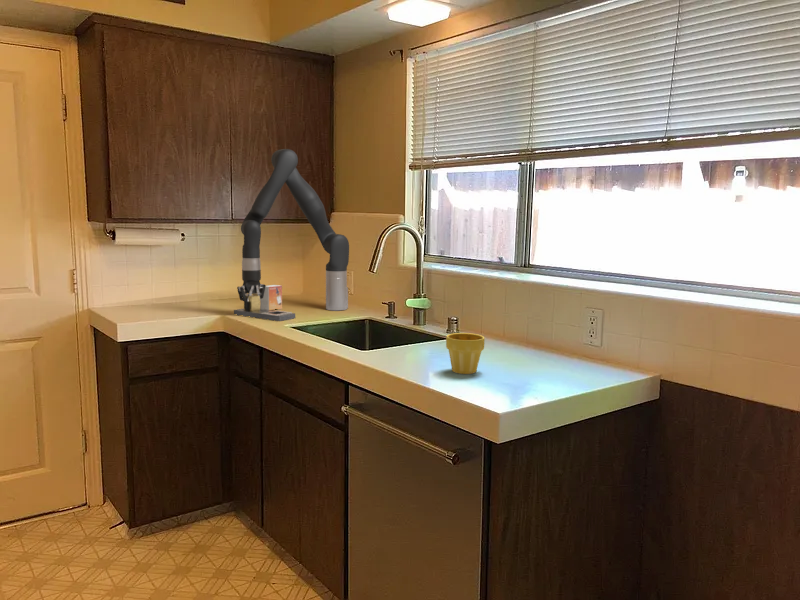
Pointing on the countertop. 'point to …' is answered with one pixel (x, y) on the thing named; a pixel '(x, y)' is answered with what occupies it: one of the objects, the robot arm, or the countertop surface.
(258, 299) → the nut block
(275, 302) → the small box
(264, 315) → the grey slotted board
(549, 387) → the countertop surface
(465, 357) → the plant pot
